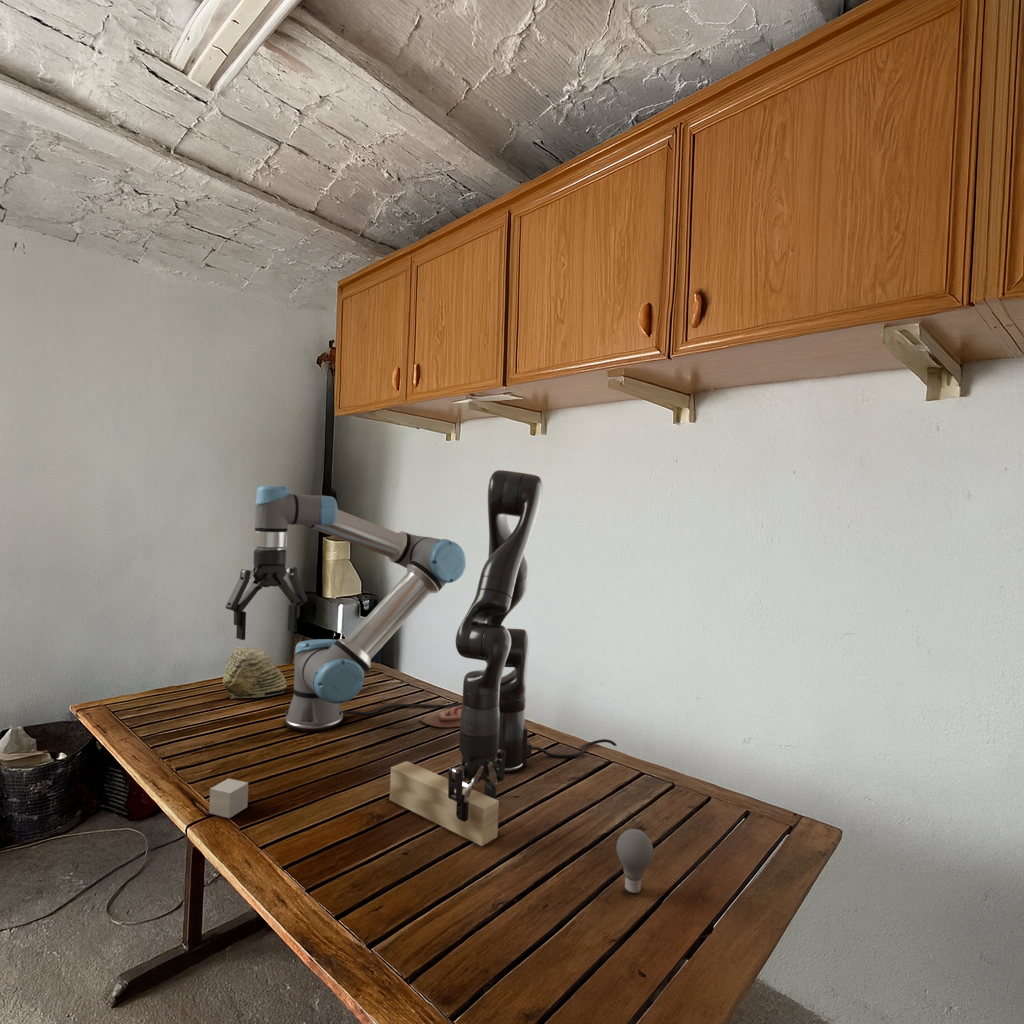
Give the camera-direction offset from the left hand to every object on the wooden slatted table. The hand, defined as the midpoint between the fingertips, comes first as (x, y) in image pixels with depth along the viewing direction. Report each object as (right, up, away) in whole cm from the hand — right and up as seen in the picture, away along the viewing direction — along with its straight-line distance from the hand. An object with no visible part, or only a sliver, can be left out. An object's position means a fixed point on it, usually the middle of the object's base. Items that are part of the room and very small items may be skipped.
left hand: (267, 635), depth 155 cm
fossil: (-21, -27, +43) cm, 55 cm away
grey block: (+3, -29, -29) cm, 41 cm away
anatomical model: (+41, -30, +27) cm, 58 cm away
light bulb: (+80, -33, -50) cm, 100 cm away
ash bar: (+46, -31, -28) cm, 62 cm away
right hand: (+53, -27, -34) cm, 69 cm away
